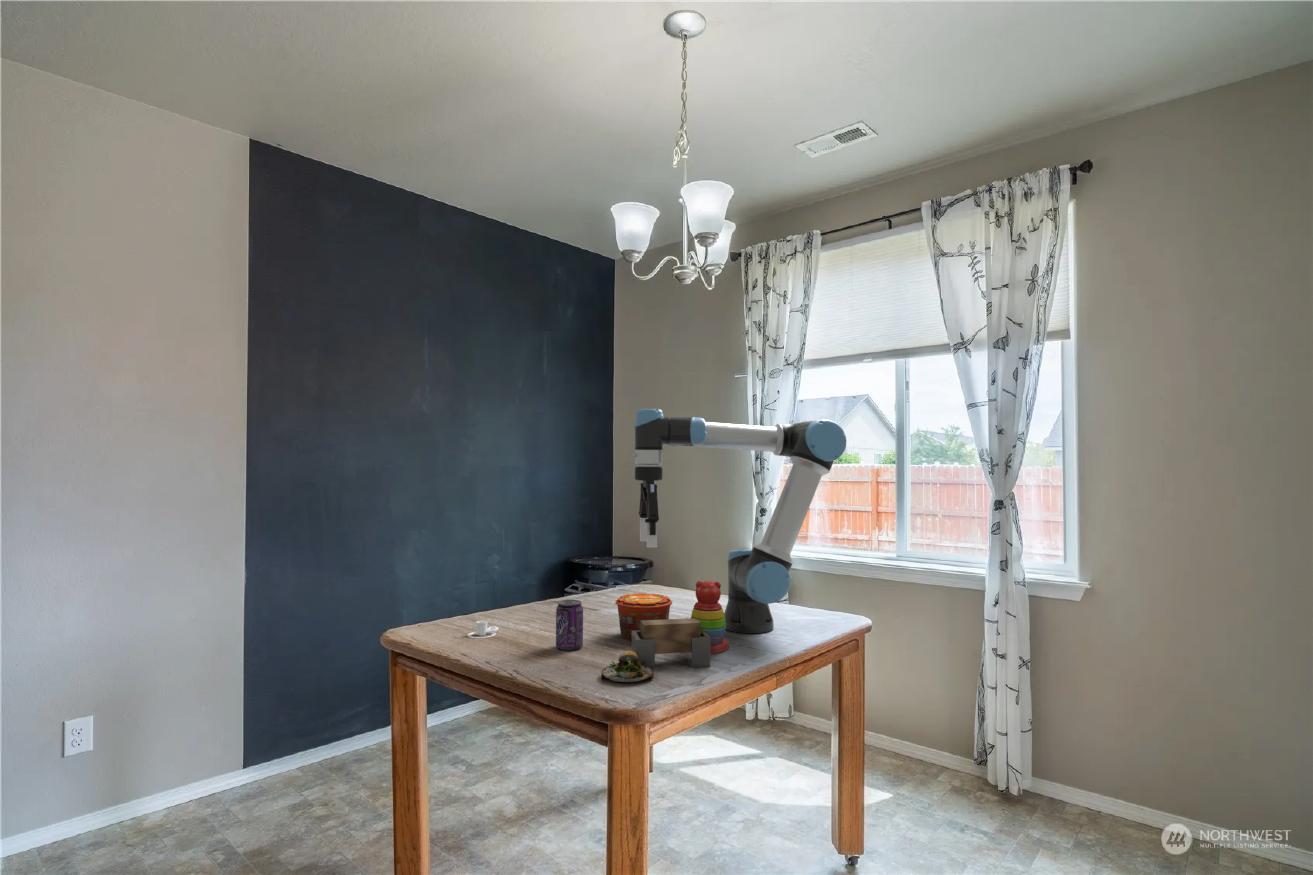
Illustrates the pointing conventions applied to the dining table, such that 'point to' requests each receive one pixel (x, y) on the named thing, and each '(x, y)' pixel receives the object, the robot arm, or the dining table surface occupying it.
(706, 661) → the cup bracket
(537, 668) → the dining table surface
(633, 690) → the dining table surface
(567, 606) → the beverage can
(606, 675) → the burger
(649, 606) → the food container
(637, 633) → the cup bracket
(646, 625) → the walnut rail
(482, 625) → the teacup and saucer
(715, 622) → the stacking bear
